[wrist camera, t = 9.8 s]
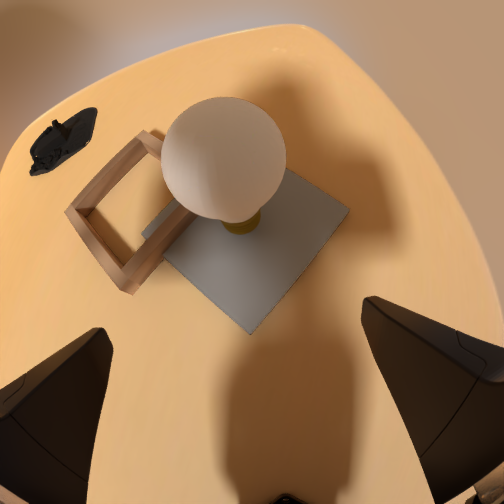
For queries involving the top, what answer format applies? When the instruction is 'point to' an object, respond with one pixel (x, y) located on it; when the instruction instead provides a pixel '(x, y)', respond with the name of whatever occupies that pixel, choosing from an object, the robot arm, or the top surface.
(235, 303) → the coaster
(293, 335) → the top surface
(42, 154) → the black irregular lumpy piece
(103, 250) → the holder frame
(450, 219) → the top surface
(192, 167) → the light bulb
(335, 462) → the top surface
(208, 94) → the top surface
